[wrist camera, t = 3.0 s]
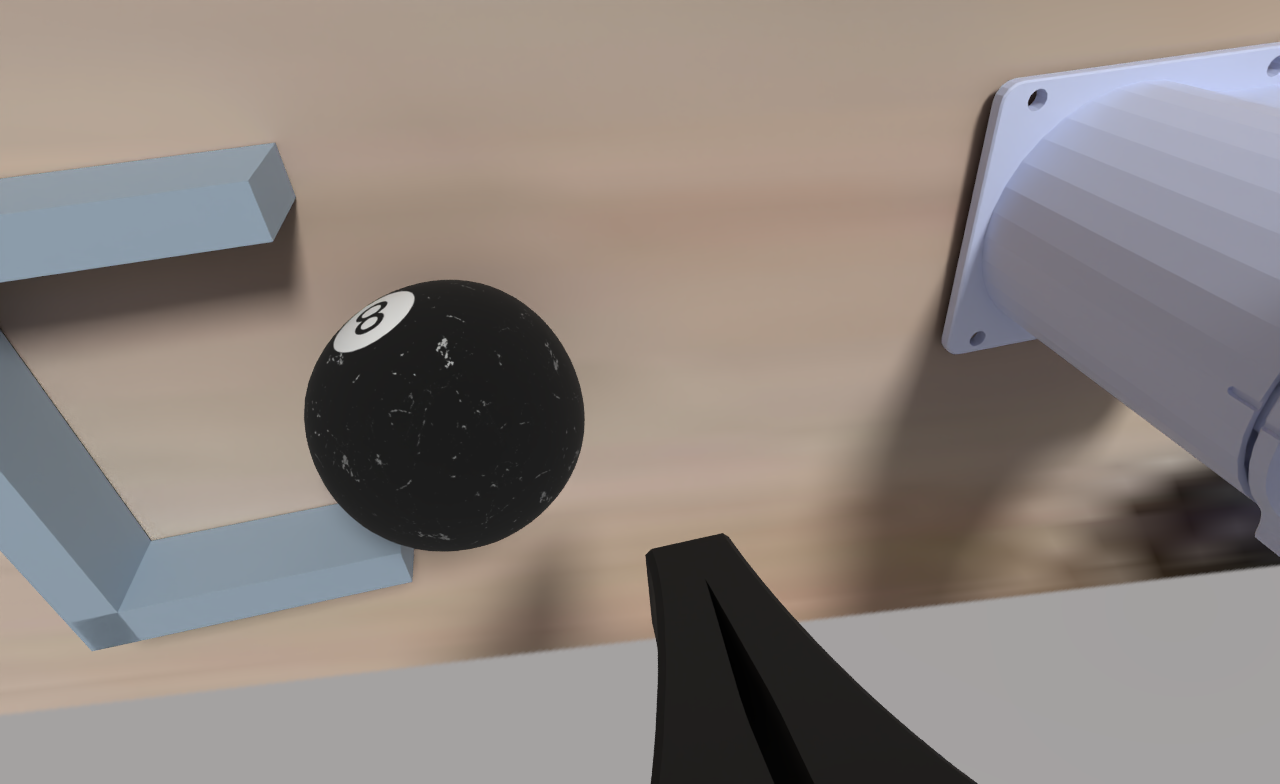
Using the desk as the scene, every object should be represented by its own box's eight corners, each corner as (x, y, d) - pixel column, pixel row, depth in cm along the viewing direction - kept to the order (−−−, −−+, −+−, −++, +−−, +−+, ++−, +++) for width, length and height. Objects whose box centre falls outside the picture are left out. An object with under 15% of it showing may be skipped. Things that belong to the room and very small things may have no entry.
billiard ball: (420, 468, 21) (411, 642, 16) (274, 313, 17) (206, 476, 12) (601, 376, 20) (648, 526, 15) (491, 197, 16) (507, 319, 12)
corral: (275, 142, 15) (248, 180, 13) (415, 518, 21) (412, 581, 20) (-167, 200, 14) (-272, 252, 12) (127, 577, 20) (92, 651, 18)
